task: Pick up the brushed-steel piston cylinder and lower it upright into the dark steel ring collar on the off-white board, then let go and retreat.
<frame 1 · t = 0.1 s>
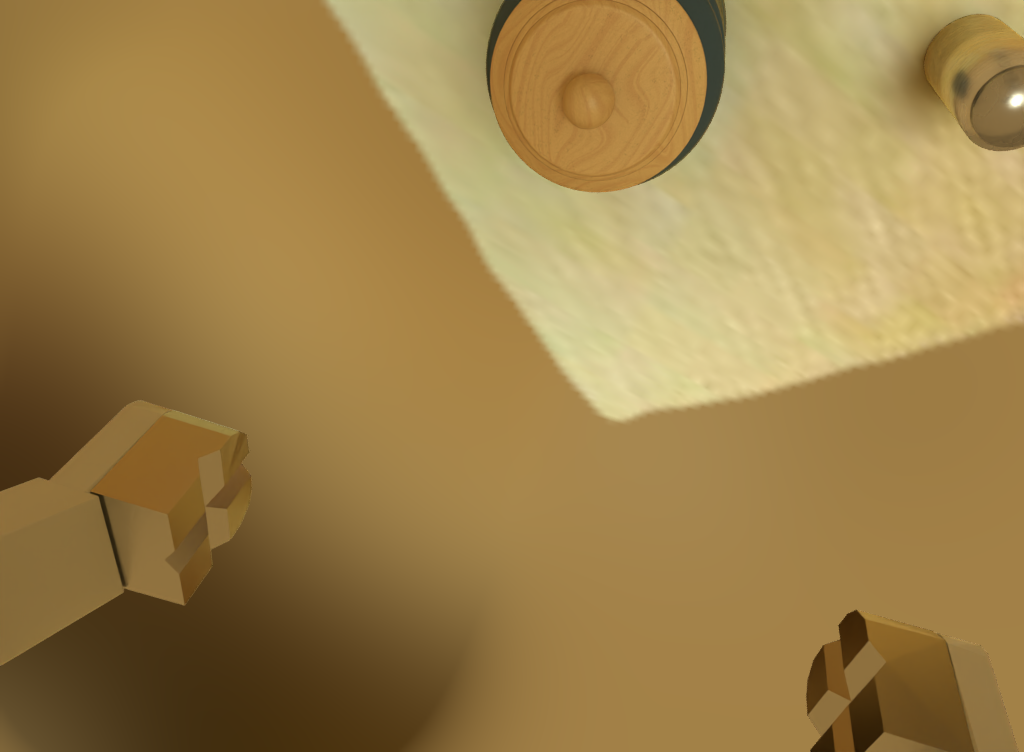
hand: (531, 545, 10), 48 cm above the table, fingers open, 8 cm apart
canister: (625, 27, 51), on the table
piston: (967, 56, 47), on the table
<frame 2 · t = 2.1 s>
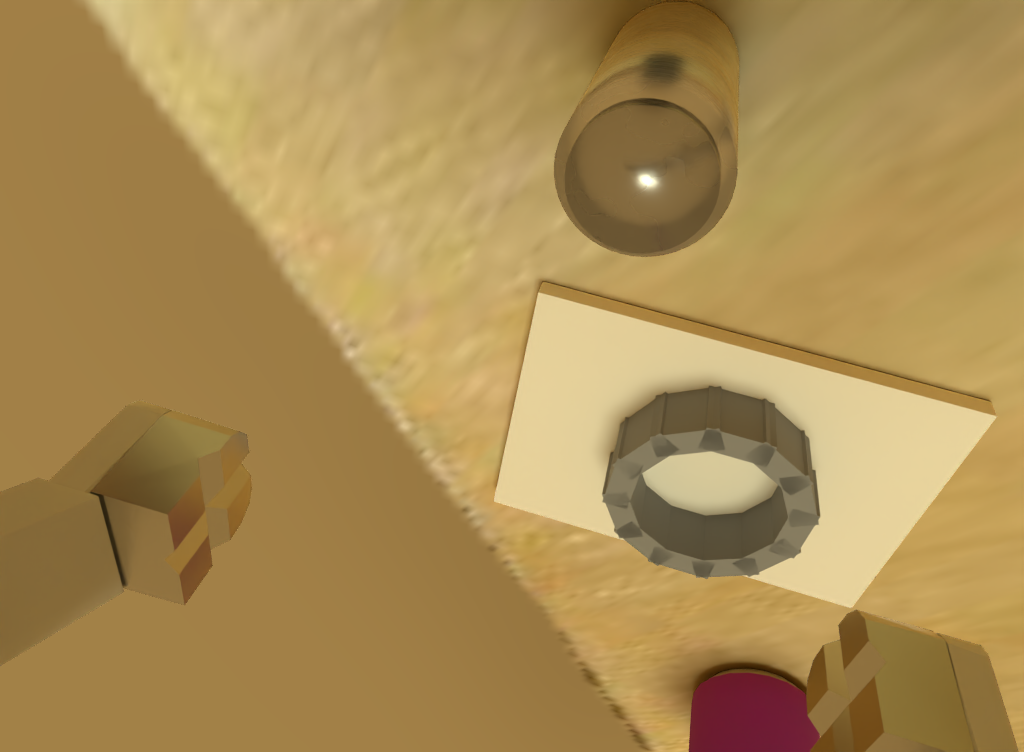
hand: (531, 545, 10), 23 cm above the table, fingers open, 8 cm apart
beverage can: (752, 694, 49), on the table
ring block: (710, 451, 38), on the table
piston: (671, 72, 28), on the table
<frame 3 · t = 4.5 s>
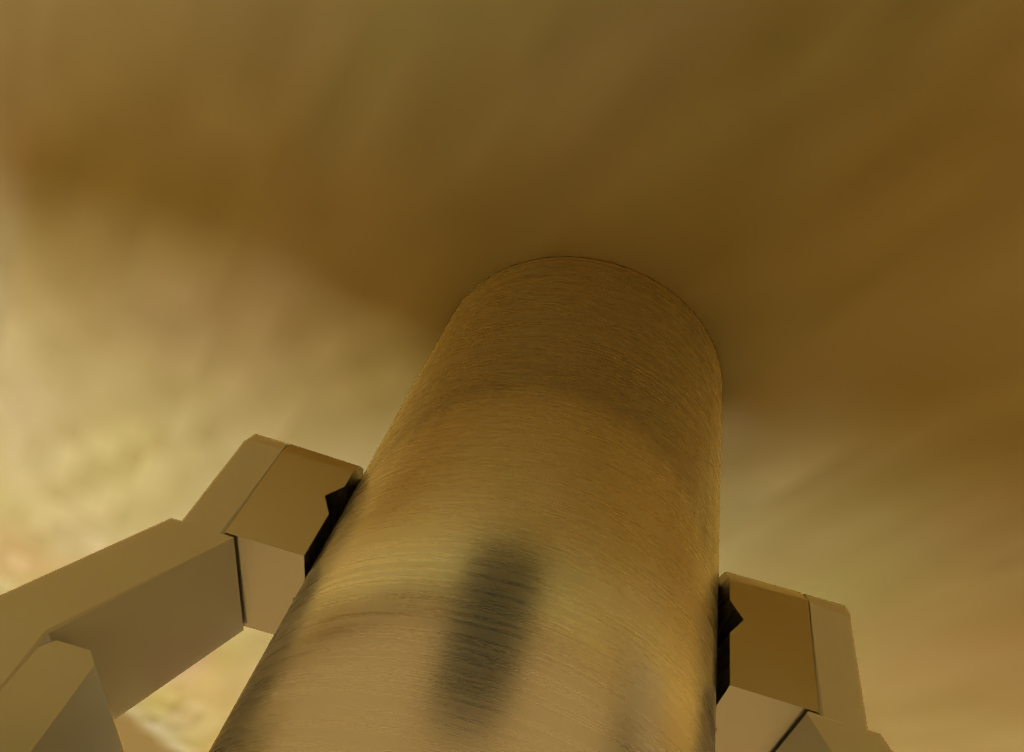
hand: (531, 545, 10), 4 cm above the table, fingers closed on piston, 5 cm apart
piston: (576, 383, 13), on the table, touching gripper
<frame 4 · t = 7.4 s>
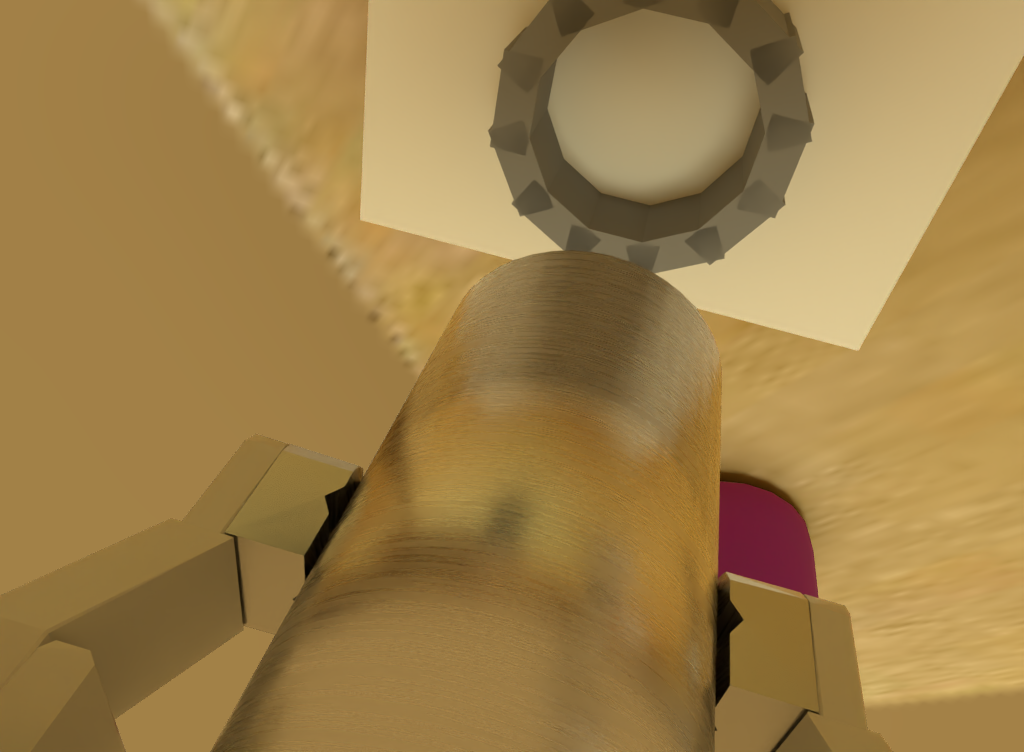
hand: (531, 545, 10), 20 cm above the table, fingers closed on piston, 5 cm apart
beverage can: (726, 524, 37), on the table
ring block: (653, 96, 26), on the table
piston: (578, 375, 13), point 16 cm above the table, touching gripper
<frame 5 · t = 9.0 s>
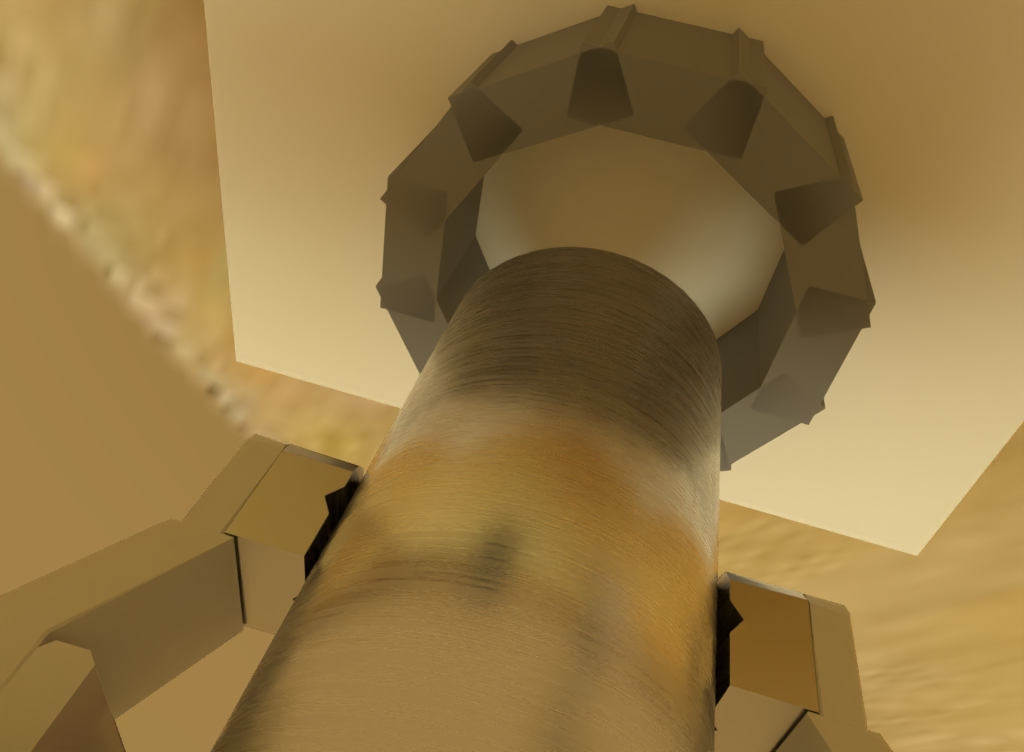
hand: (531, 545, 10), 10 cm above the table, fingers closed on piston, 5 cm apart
ring block: (628, 219, 18), on the table
piston: (579, 371, 13), point 6 cm above the table, touching gripper
when the fingers open (6 cm above the table, at t = 10.3 s): piston stays where it is, resting on ring block.
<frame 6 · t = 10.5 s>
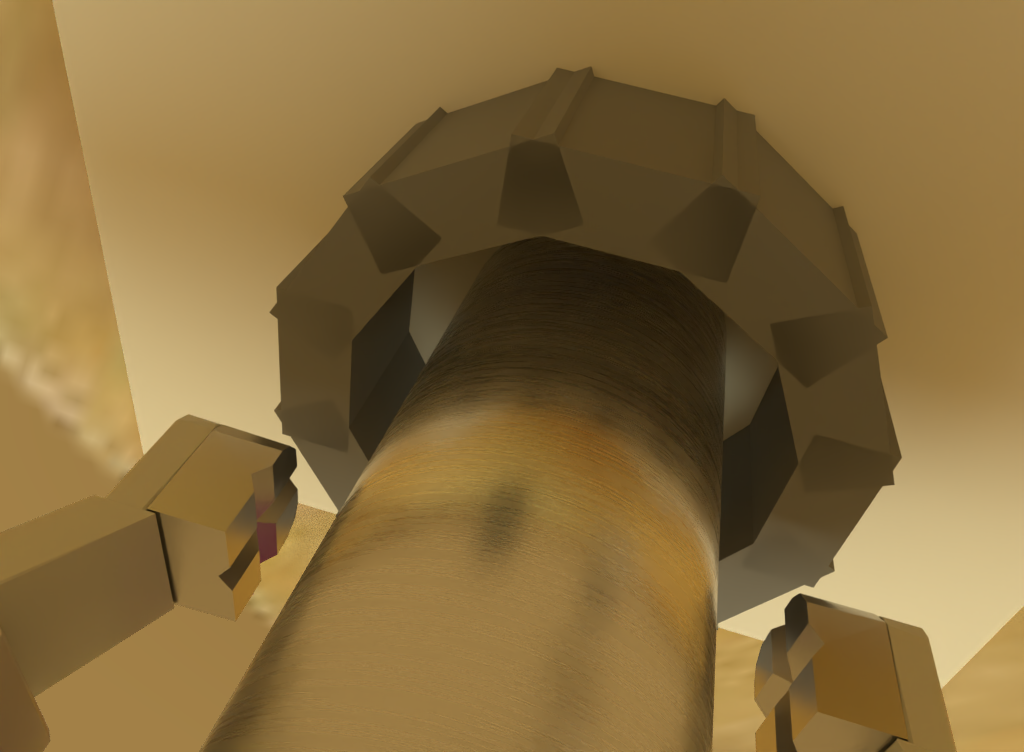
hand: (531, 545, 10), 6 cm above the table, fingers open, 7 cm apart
ring block: (594, 311, 15), on the table
piston: (591, 338, 14), point 1 cm above the table, touching ring block
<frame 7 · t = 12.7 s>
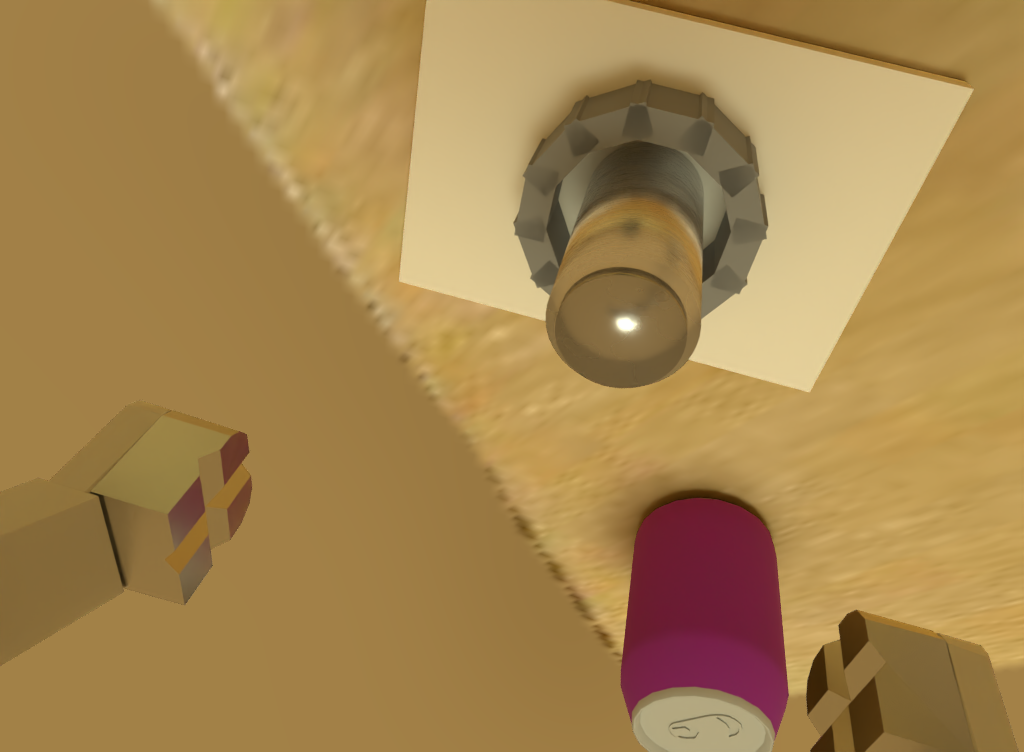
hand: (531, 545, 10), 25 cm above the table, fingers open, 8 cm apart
beverage can: (703, 534, 43), on the table
ring block: (643, 191, 32), on the table
piston: (644, 199, 31), point 1 cm above the table, touching ring block
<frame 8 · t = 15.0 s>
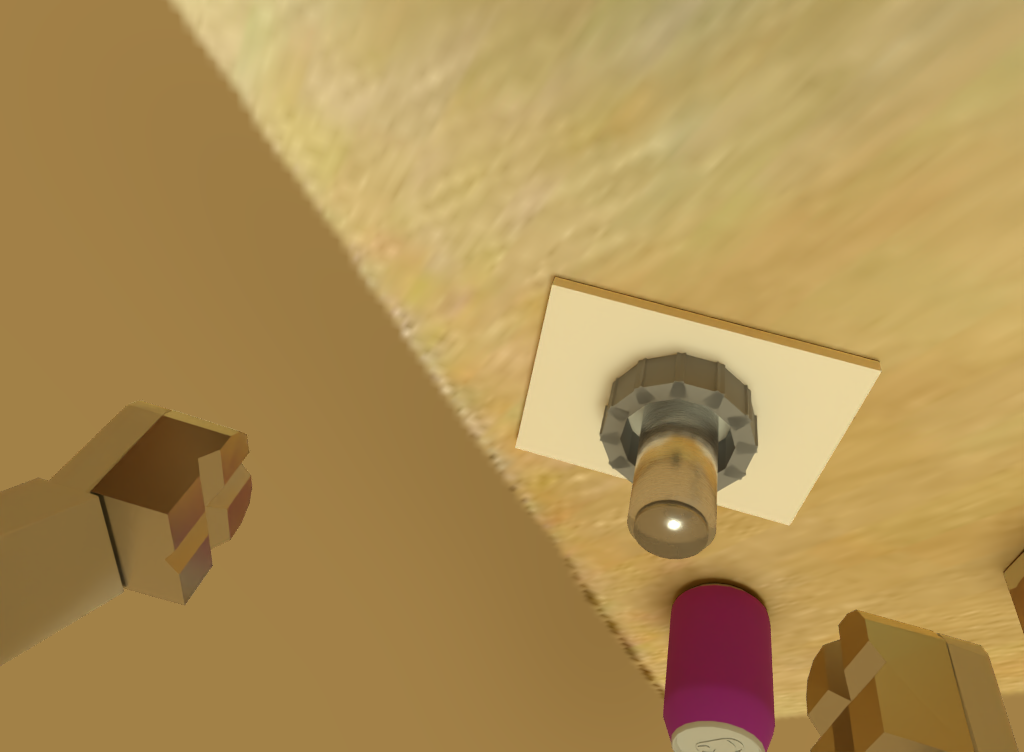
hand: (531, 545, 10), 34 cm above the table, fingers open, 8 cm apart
beverage can: (719, 606, 62), on the table
ring block: (680, 404, 50), on the table
piston: (680, 413, 49), point 1 cm above the table, touching ring block
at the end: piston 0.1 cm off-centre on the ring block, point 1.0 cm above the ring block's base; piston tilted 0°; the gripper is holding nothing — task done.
